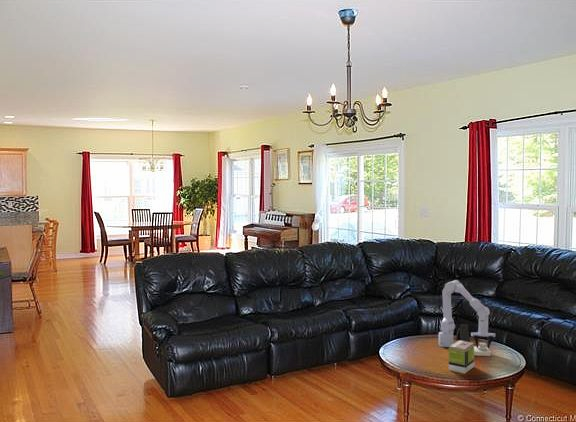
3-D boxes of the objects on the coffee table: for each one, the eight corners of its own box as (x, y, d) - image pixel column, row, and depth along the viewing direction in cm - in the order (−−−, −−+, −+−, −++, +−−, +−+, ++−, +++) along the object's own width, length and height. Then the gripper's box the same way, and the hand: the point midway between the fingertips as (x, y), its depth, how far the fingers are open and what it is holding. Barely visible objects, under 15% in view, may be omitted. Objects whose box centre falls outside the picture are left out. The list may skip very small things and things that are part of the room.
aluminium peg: (479, 353, 342) (480, 344, 341) (478, 351, 345) (478, 342, 345) (486, 353, 341) (486, 344, 341) (484, 351, 345) (485, 342, 345)
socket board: (464, 355, 339) (464, 351, 339) (460, 349, 350) (461, 345, 350) (490, 356, 337) (490, 352, 337) (486, 350, 348) (486, 346, 348)
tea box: (458, 363, 324) (458, 339, 323) (474, 367, 318) (475, 342, 317) (448, 370, 313) (448, 345, 312) (464, 374, 306) (465, 348, 305)
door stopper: (470, 343, 364) (470, 325, 363) (462, 343, 363) (463, 326, 362) (462, 339, 373) (463, 322, 372) (455, 340, 371) (455, 322, 370)
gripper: (473, 327, 339) (472, 349, 340) (496, 328, 337) (496, 349, 338) (470, 324, 346) (469, 345, 347) (493, 325, 344) (493, 346, 345)
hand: (482, 347), depth 343 cm, fingers open, 6 cm apart
